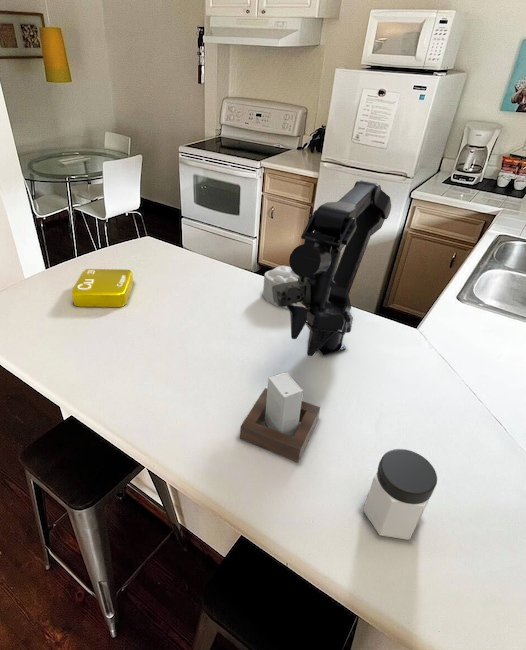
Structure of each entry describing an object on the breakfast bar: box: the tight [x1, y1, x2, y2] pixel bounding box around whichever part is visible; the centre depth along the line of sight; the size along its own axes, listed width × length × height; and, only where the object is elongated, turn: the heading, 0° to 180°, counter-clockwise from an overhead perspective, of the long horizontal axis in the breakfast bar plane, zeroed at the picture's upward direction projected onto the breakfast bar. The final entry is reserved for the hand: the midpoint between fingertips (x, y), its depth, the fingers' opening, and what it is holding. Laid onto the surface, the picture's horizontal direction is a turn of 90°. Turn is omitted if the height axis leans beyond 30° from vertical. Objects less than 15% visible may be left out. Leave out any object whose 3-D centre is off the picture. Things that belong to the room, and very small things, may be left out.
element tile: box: [71, 268, 134, 308], centre depth 129 cm, size 15×15×5 cm
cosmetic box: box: [264, 371, 304, 437], centre depth 85 cm, size 6×4×12 cm
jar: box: [362, 448, 438, 541], centre depth 70 cm, size 9×8×12 cm
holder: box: [239, 387, 321, 463], centre depth 87 cm, size 12×12×4 cm
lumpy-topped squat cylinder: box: [262, 265, 299, 310], centre depth 126 cm, size 10×13×9 cm
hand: (301, 346), depth 91 cm, fingers open, 9 cm apart
